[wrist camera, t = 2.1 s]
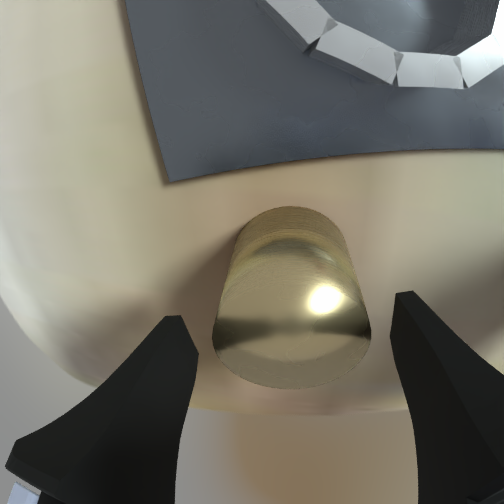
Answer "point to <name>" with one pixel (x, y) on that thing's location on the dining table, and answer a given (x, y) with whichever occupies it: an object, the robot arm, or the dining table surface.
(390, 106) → the socket plate
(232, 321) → the cylinder
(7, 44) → the dining table surface
